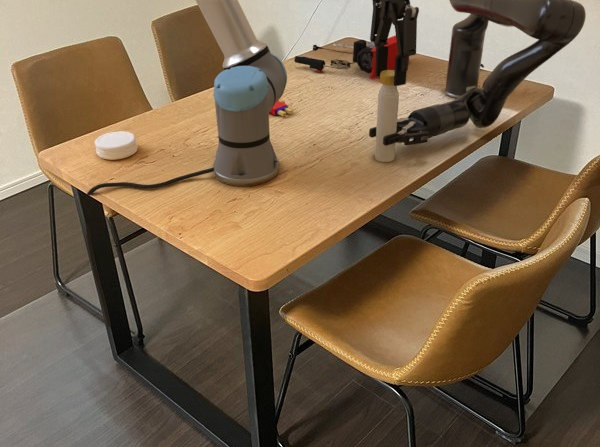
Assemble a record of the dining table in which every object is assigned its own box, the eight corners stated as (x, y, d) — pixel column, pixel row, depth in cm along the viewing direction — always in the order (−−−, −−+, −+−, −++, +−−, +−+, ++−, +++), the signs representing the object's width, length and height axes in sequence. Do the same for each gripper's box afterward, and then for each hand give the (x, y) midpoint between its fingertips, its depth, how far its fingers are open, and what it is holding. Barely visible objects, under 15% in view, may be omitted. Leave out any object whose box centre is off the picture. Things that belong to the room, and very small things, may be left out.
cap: (378, 85, 139) (379, 75, 138) (380, 78, 143) (381, 69, 142) (398, 86, 138) (399, 76, 137) (399, 79, 142) (400, 70, 141)
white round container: (108, 164, 149) (105, 151, 148) (90, 151, 156) (87, 138, 154) (145, 152, 155) (143, 139, 153) (126, 139, 161) (123, 127, 159)
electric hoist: (293, 36, 204) (372, 51, 189) (336, 22, 223) (412, 35, 208) (292, 67, 209) (370, 83, 194) (335, 51, 228) (409, 65, 213)
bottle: (373, 161, 149) (378, 77, 138) (375, 152, 153) (380, 70, 142) (393, 162, 148) (399, 78, 137) (395, 154, 152) (401, 71, 141)
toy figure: (296, 106, 174) (268, 92, 181) (278, 112, 170) (250, 99, 177) (296, 114, 176) (268, 100, 183) (278, 121, 172) (250, 107, 179)
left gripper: (356, -34, 134) (353, 70, 146) (410, -18, 119) (402, 96, 132) (384, -37, 137) (379, 65, 149) (441, -23, 122) (430, 90, 134)
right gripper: (413, 98, 157) (359, 112, 149) (453, 116, 147) (397, 133, 139) (411, 125, 161) (358, 141, 154) (450, 145, 151) (395, 163, 143)
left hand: (390, 79), depth 140 cm, fingers open, 7 cm apart
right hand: (377, 137), depth 146 cm, fingers closed on bottle, 4 cm apart
